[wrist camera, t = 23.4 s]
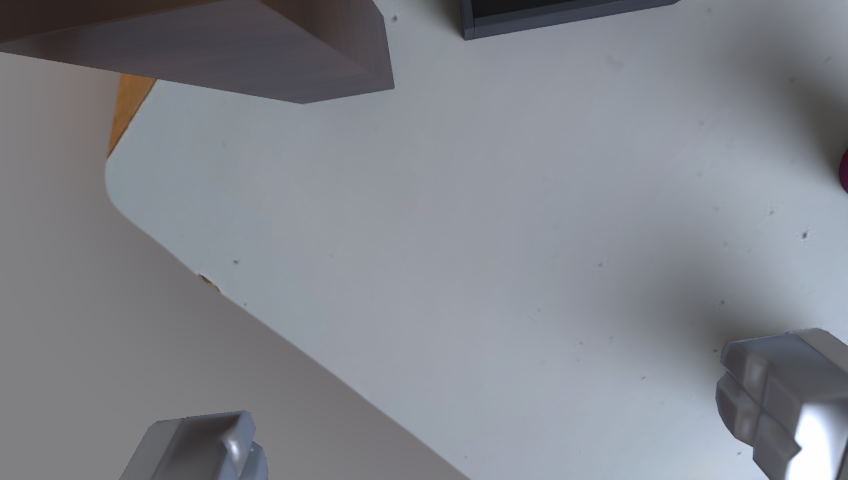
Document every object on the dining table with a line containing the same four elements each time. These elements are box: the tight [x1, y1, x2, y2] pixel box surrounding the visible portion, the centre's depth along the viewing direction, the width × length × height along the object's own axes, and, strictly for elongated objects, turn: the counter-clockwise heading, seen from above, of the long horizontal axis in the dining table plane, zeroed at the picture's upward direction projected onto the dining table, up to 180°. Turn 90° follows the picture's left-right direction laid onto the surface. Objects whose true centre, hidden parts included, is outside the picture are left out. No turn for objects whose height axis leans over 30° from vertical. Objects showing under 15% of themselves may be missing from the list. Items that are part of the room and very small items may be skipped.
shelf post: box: [0, 0, 395, 104], centre depth 24 cm, size 7×5×26 cm
